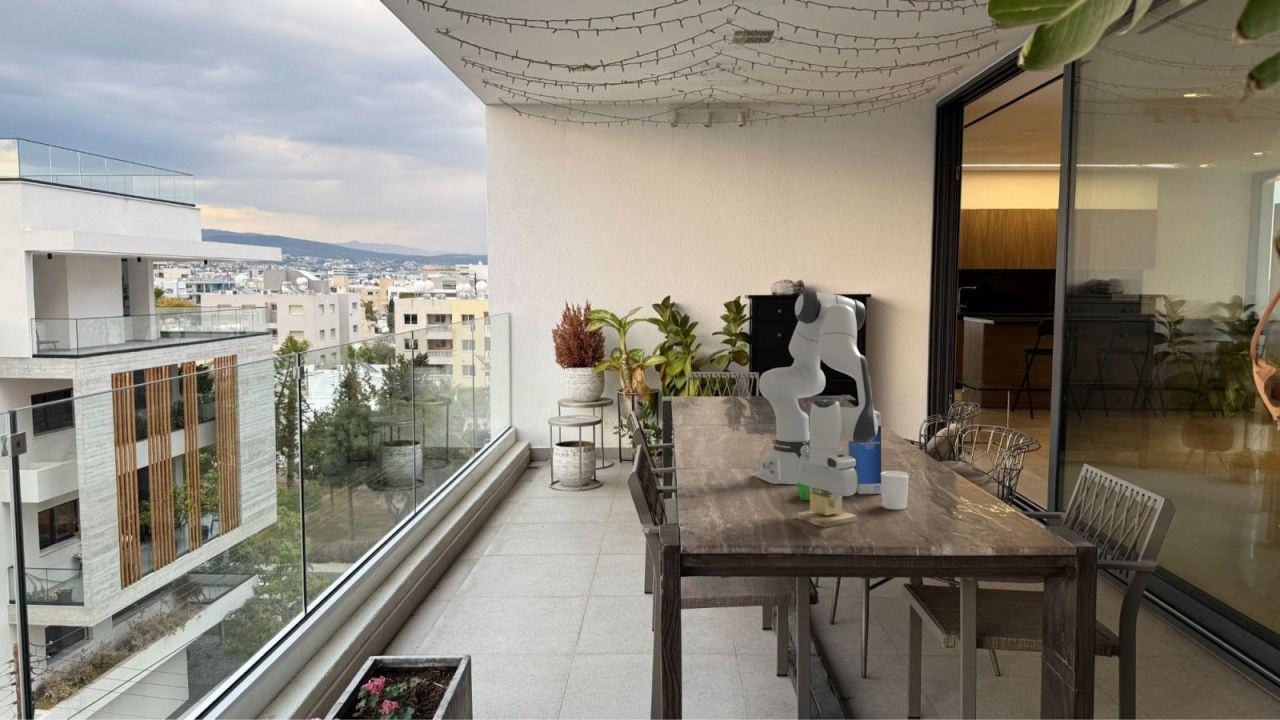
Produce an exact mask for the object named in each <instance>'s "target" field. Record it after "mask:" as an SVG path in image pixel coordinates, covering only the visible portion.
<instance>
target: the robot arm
mask: <svg viewBox="0 0 1280 720" xmlns="http://www.w3.org/2000/svg"><path fill="white" fill-rule="evenodd" d="M794 304H795V305H794V316H795V317H796V319H797V324H796V326H795V329H794V330H793V334H792V336H791V338H790V342H789V344H788V350H789V353H790V355H791V357H792V358H793V359H794V360H793V363H792V364H791V366H785V367H775V368H771V369H770V370H767V371H765V372H762V374H761V375H760V377H759V381H758V388H759V391H760V393H761V395H762V396H763V397H764V398H765V399H766V400H767V401H768V402H769V404H770V405H771V407H772V409H773V411H774V412H773V413H774V415H775V423H776V439H772V440H771V444H774V445H773V447H772V448H773V449H772V450H771V451H769V453H768V454H766V455H764V457H763V458H762V459H761V461H760V469H759V470H758V471H756V472H754V473H753V476H754V477H755V478H757V479H759V480H763V481H765V482H766V483H767V482H768V483H770V484H772V485H784V484H785V485H796V484H797V483H800V484H803V485H806V486H809V490H810V492H811V493H814V492H817V490H818V489H821V490H825V491H829V492H832V493H834V497H835V499H834V501H833V502H831V507H832V508H834V509H838V508H839V507H840V501H841V499H842V500H843V497H850V496H854V494H856V493H857V492H856V485H857V484H856V472H855V469H854V468H853V466H855V465H856V461H855V459H854V458H853V457H851V456H850V455H849V453H846V451H844V450H843V444H842V442H848V441H854V442H859V443H868V442H869V441H871V440H872V439H873V438H874V437H876V435H877V431H878V422H877V417H876V414H875V411H876V410H875V405H874V399H873V398H874V397H873V392H872V391H873V389H872V382H871V375H870V369H869V368H870V367H869V363H868V360H867V359H866V357H865V356H864V355H863V354H861V353H860V351H859V349H858V345H857V343H858V331H859V330H860V329H861V328H862V327H863V325H864V323H865V320H866V314H867V313H866V307H865V304H864V303H863V302H861V301H860V300H857V299H855V298H850V297H846V296H843V295H840V294H835V293H828V292H820V291H816V290H804V291H803V292H801V293H800V294H799V295H798V297H797V299H796V302H795V303H794ZM821 361H822V363H824V364H825V365H826V366H828V367H829V368H830V369H833V370H835V371H837V372H840V373H842V374H845V375H847V376H849V377H851V378H853V379H854V380H855V383H856V389H857V390H856V391H857V397H858V398H857V399H858V405H857V406H855V407H844V406H843V407H841V405H840V402H839V400H838V399H836V398H833V397H820V398H816V399H814V400H813V401H812V402H811V405H810V410H809V411H810V412H809V415H808V413H807V412H805V411H803V410H802V409H801V407H800V405H799V400H798V399H805V398H811V397H813V396H816V395H819V394H821V393H823V391H824V389H825V387H826V376H825V374H824V371H823V370H822V369H821ZM874 410H875V411H874Z"/></svg>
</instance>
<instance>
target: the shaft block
mask: <svg viewBox="0 0 1280 720" xmlns="http://www.w3.org/2000/svg"><path fill="white" fill-rule="evenodd" d="M822 495H824V496H828V495H830V492H829V491H825V490H822ZM796 518H798V519H797V520H799V519H801V520H800V521H802V520H804V521H803V522H805V521H807V522H806V523H809V522H810V523H809V524H812V523H813V524H812V525H816V526H819V527H822V528H830V527H834V526H835V527H836V526H840V525H844V524H850V523H855V522H858V515H856V514H853V513H850V512H846V511H844V510H842V512H839V513H834V514H830V515H823V514H819V513H816V512H813V511H810V509H809V510H804V511H800V512H795V519H796Z"/></svg>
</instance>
